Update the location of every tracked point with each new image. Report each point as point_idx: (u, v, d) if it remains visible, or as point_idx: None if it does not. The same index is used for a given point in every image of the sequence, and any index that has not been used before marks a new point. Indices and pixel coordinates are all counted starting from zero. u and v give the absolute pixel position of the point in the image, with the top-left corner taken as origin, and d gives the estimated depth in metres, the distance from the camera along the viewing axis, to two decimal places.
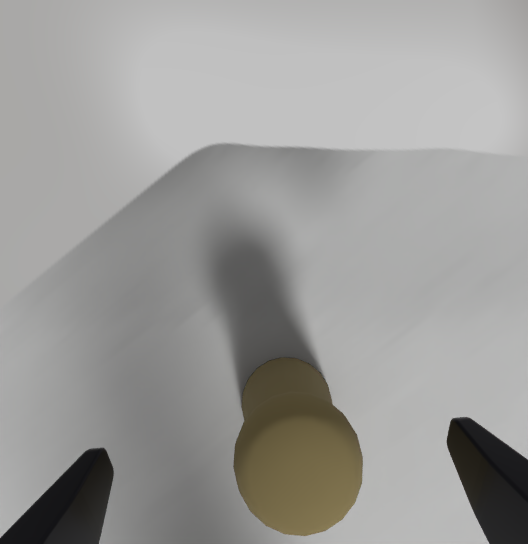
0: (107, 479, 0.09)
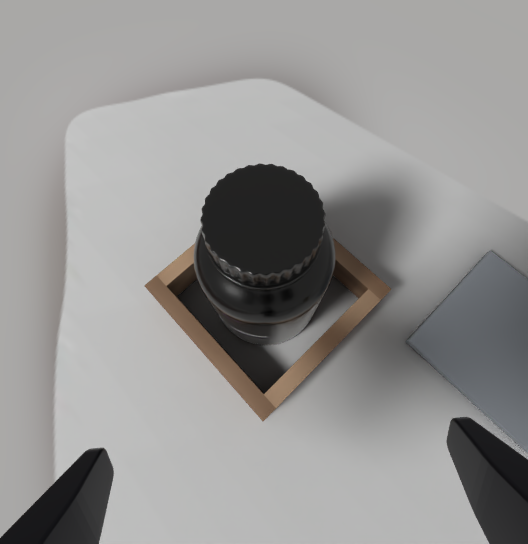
0: (107, 479, 0.09)
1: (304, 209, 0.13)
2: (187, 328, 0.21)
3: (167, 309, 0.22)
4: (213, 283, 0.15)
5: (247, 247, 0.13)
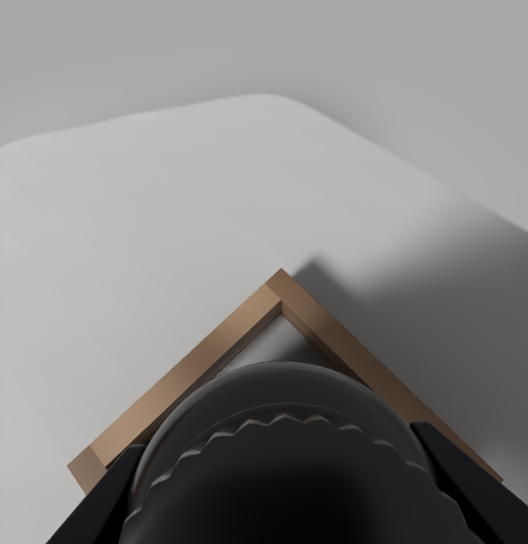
0: None
1: None
2: None
3: None
4: None
5: None
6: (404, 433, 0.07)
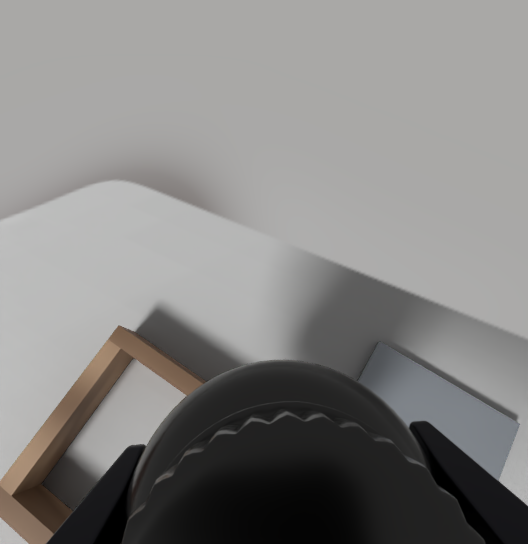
0: None
1: None
2: None
3: (15, 527, 0.18)
4: None
5: None
6: (402, 431, 0.07)
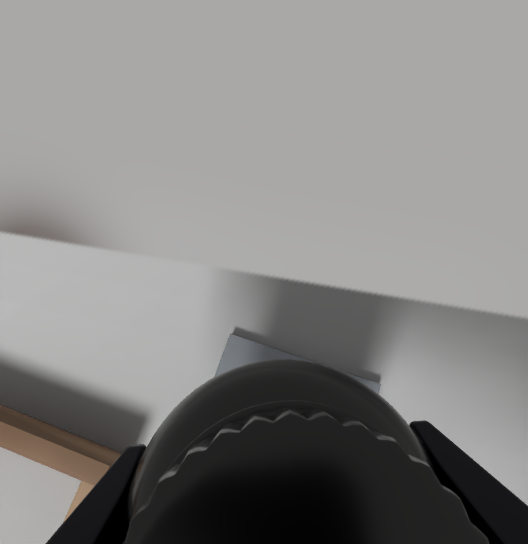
0: None
1: None
2: None
3: None
4: None
5: None
6: (403, 430, 0.07)
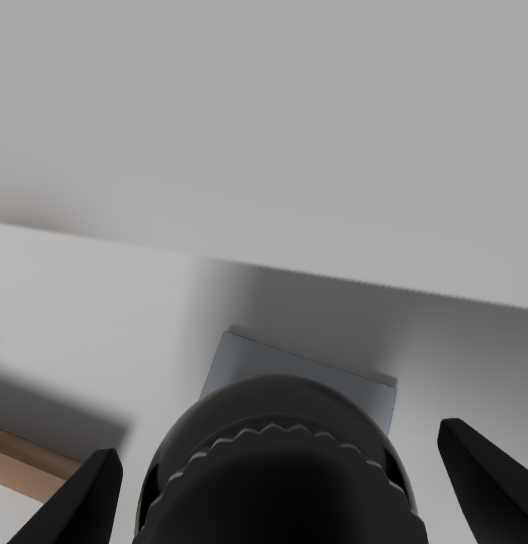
0: (117, 478, 0.09)
1: None
2: None
3: None
4: None
5: None
6: (376, 436, 0.08)
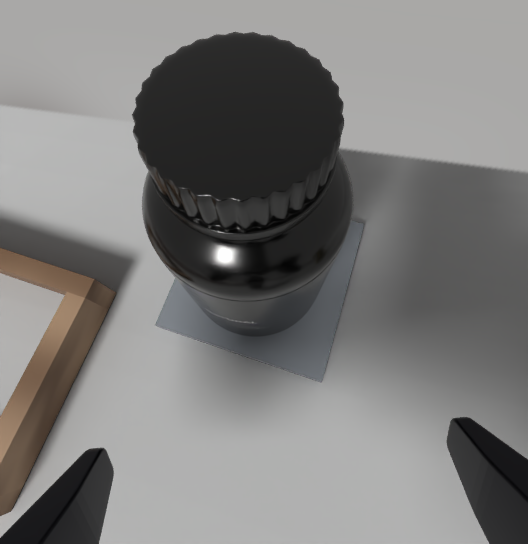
0: (107, 479, 0.09)
1: (308, 96, 0.08)
2: None
3: None
4: (167, 235, 0.10)
5: (210, 156, 0.07)
6: None
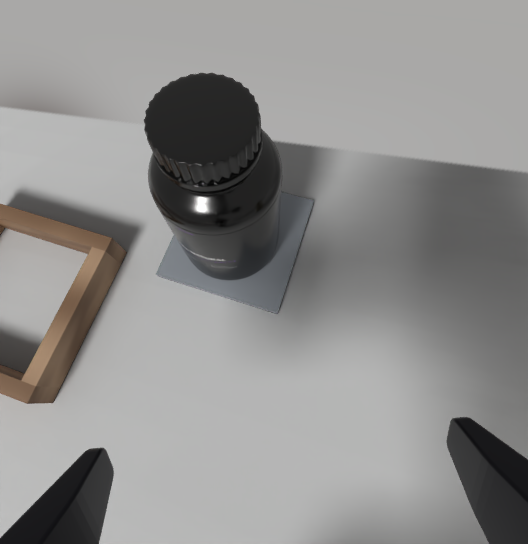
0: (107, 479, 0.09)
1: (240, 110, 0.14)
2: None
3: None
4: (163, 192, 0.16)
5: (185, 142, 0.14)
6: (261, 130, 0.18)
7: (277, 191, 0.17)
